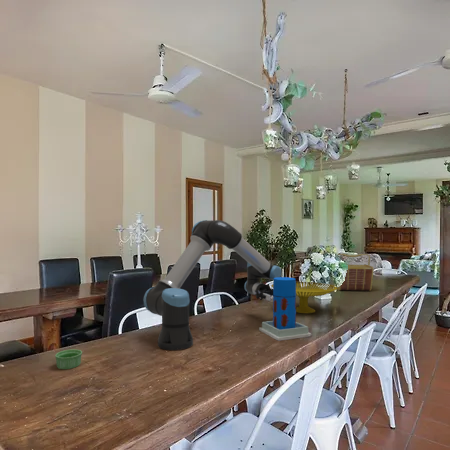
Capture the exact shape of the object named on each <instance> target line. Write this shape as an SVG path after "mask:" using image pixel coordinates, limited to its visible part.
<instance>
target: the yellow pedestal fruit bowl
mask: <svg viewBox="0 0 450 450" xmlns="http://www.w3.org/2000/svg"><path fill="white" fill-rule="evenodd" d="M270 286H271V287H270V288H273V284H271V285H270ZM335 291H338V288H337V287H335V285H332V284H328V283H322V282H311V281H296V297H298V300H299V301H298V302H299V306H296V313H300V314H312V313H316V310H315V309H314V308H312V307H310V306H309V298H310V297H320V296H321V297H322V296H325V295H328V294H330V293H332V292H335Z"/></svg>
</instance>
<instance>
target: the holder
mask: <svg viewBox="0 0 450 450" xmlns="http://www.w3.org/2000/svg"><path fill="white" fill-rule="evenodd" d="M258 331H259V332H261V333H263V334H265V335H267V336H268V337H271V338H272V339H274V340H276V341H287V340H295V339H302V338H303V339H304V338H308V337H312V332H309V326H307V325H305V324H302V323H300V322H298V321H296V328H290V329H282V330H279V329H277V328H275V327H273V320H267V321H262V322H261V327H259V328H258Z"/></svg>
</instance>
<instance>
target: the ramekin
mask: <svg viewBox="0 0 450 450" xmlns="http://www.w3.org/2000/svg"><path fill="white" fill-rule="evenodd" d="M82 354H83V351H82V350H81V349H76V348H75V349H71V348H70V349H65V350H60V351H59V352H57V353H56V354H55V355H54V357H55V362H56V367H57V369H59V370H70V369H74V368H77V367H79V366H80V365H81V363H82Z"/></svg>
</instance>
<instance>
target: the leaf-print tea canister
mask: <svg viewBox="0 0 450 450" xmlns="http://www.w3.org/2000/svg"><path fill="white" fill-rule="evenodd" d="M296 279H297V278H294V277H287V276H285V277H284V276H280V277H277V278H274V280H272V282H273V287H272V289H273V296H272V300H273V301H272V312H273V313H272V316H273V317H272V321H273V327H275V328H277V329H279V330H282V329H290V328H296V322H297V312H296V307H297V296H296V287H297V284H296V282H297V281H296Z"/></svg>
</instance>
